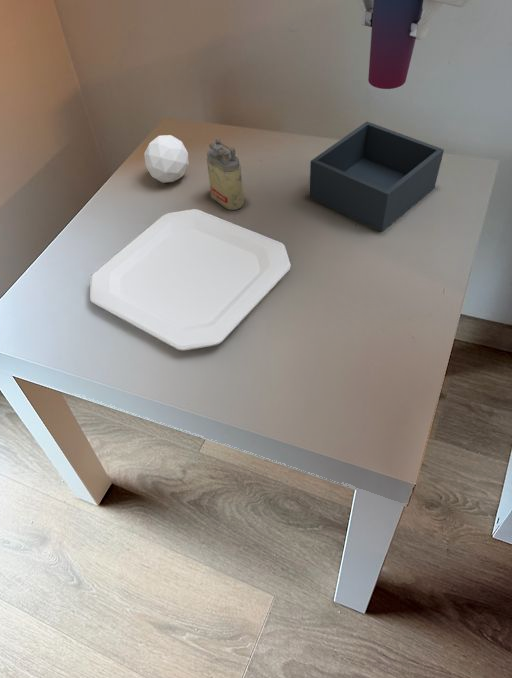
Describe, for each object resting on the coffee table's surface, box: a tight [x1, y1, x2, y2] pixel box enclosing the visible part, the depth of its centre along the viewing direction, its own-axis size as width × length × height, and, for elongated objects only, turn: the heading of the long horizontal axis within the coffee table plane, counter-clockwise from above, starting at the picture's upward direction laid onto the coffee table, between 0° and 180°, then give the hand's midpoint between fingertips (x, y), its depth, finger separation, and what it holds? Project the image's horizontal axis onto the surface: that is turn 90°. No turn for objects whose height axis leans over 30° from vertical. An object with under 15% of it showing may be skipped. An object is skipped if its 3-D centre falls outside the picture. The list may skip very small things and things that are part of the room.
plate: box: [89, 208, 292, 352], centre depth 80 cm, size 25×25×2 cm
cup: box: [367, 0, 424, 90], centre depth 68 cm, size 7×7×15 cm
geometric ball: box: [143, 134, 190, 184], centre depth 95 cm, size 8×8×8 cm
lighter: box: [206, 138, 245, 211], centre depth 89 cm, size 7×4×10 cm, turn 37°
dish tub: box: [308, 121, 445, 233], centre depth 87 cm, size 15×15×7 cm
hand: (392, 30), depth 69 cm, fingers closed on cup, 6 cm apart
